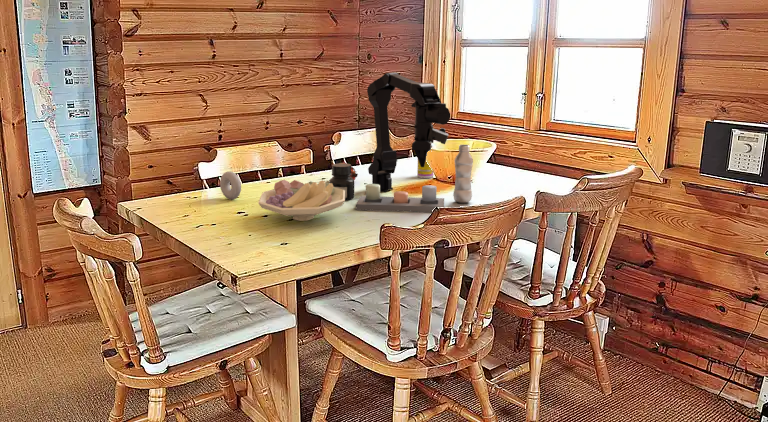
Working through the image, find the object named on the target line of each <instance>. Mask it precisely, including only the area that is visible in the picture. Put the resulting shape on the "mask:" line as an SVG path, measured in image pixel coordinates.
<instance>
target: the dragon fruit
mask: <svg viewBox="0 0 768 422" xmlns="http://www.w3.org/2000/svg"><path fill="white" fill-rule="evenodd" d="M344 163H345V164H348V163H347V162H344ZM358 175H359V174H358V173H357V171H356V169H355V167H353V166H352V165H351V176H350V177H352V178H353V179H354V181H355V180H356V178H357V177H358Z"/></svg>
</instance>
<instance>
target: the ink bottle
mask: <svg viewBox="0 0 768 422" xmlns="http://www.w3.org/2000/svg"><path fill="white" fill-rule="evenodd" d="M345 163H346V162H339V163H333V164H331V176H332V177H331V178H330V179H329V180H328V183H332V184H333V187H334V188H338V189H342V190H345V201H350V200H351V201H352V200H353V199H354V198H355V180H354V179H353V178H352V177H350V176H351V166H352V165H351V164H350V163H347V164H345Z"/></svg>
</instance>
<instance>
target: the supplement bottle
mask: <svg viewBox="0 0 768 422" xmlns="http://www.w3.org/2000/svg"><path fill="white" fill-rule="evenodd" d="M416 173H417V175H416V176H417V177H418V178H420V179H433V177H434V176H435V175H434V174H433V171H432V170H431V168H430V167H429V165H428V164H427V162H426V161H425V165H424V167H421V166H420V163H419V161H418V160H417V172H416Z"/></svg>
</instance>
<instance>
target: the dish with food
mask: <svg viewBox="0 0 768 422" xmlns="http://www.w3.org/2000/svg"><path fill="white" fill-rule="evenodd" d="M345 201H346V200H345V190H342V189H338V188H334V187H333V184H332V183H329V182H326V181H325V180H324V179H322V180H320V181H319V183H317V182H316V181H315V182H314V181H308V182H307V183H303V182H300V181H299V180H296V179H293V180H292V181H291V182H290V181H288V180H286V179H282V180H279V181H277V182H275V183H274V187H273V189H269V190H265V191H263V192H262V193H261V195H260V197H259V200H258V201H257V203H258V205H259V207H260V208H261V209H264V210H267V211H270V212H272V213H273V212H274V213H277V214H280V215H283V216H287V217H292V219H293V220H295V221H297V222H299V221H300V222H301V221H302V222H303V221H310V220H313V219H314V218H315V216H316V215H317V216H318V215H319V214H323V213H326V212H329V211H333V210H335V209H337V208H340V207H342V206H343V204H344V203H345Z"/></svg>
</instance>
